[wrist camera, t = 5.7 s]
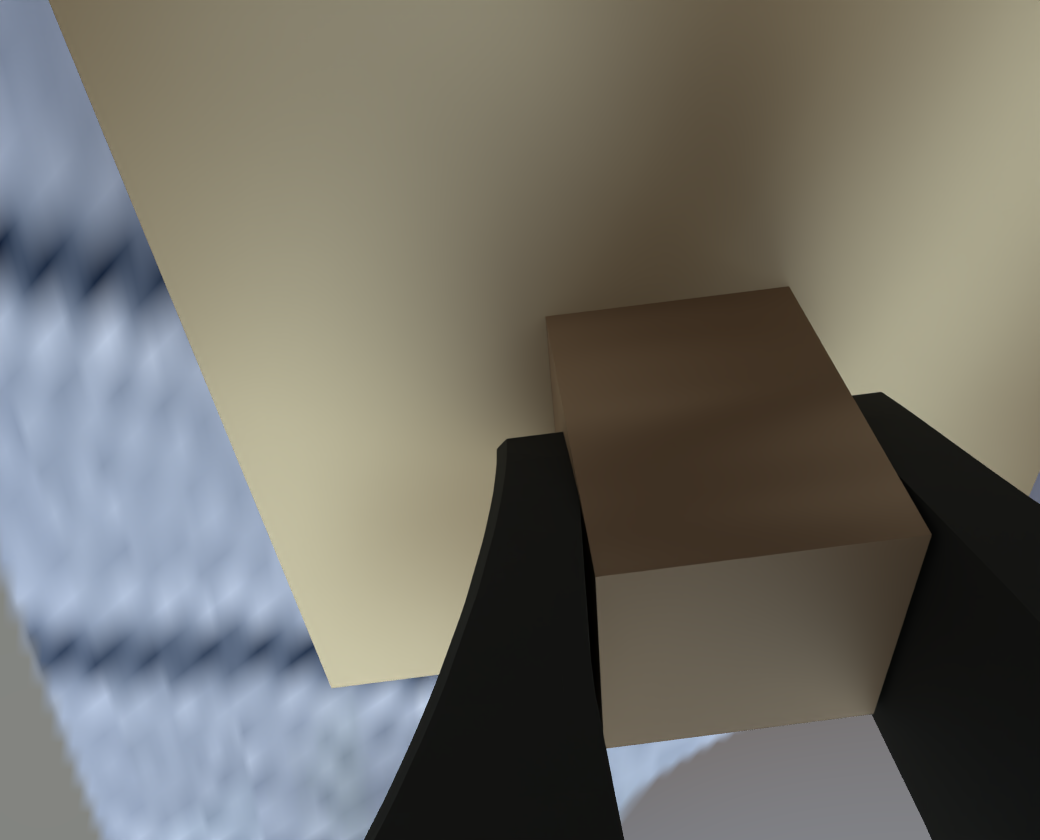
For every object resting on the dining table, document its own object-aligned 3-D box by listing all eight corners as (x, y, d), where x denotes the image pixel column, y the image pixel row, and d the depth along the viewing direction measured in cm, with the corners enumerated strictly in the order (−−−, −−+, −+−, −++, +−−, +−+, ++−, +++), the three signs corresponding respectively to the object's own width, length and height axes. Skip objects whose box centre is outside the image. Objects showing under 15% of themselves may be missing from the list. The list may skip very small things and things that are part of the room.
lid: (1234, -182, 8) (1825, -50, 4) (959, 564, 14) (1118, 834, 11) (71, -43, 8) (-180, 194, 4) (335, 643, 14) (312, 938, 11)
